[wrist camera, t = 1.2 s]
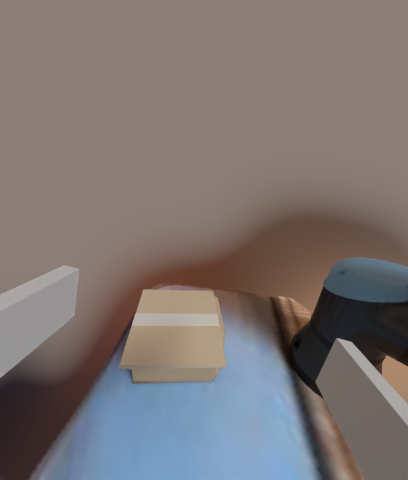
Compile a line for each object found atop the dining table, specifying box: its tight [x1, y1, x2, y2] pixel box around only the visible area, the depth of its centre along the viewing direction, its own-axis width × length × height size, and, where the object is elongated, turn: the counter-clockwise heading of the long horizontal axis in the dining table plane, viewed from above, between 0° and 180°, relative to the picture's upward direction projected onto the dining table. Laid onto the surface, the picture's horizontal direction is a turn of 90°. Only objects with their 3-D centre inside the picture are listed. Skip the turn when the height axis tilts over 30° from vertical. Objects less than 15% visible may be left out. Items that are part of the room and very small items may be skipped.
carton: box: [132, 297, 226, 383], centre depth 37 cm, size 15×10×11 cm
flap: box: [119, 290, 226, 370], centre depth 32 cm, size 14×15×1 cm
